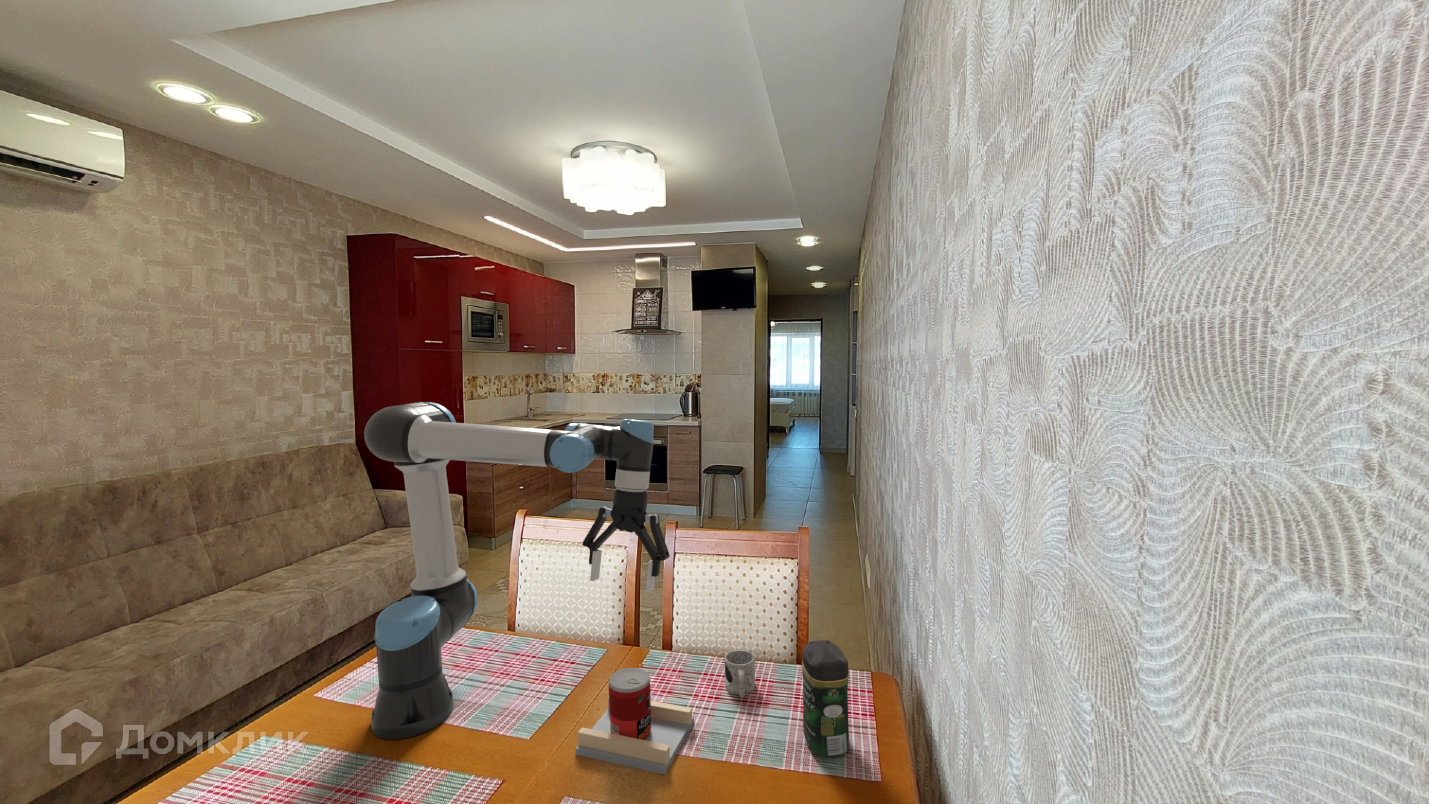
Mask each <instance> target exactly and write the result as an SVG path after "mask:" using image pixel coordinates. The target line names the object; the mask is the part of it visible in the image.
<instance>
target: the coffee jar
mask: <svg viewBox="0 0 1429 804" xmlns="http://www.w3.org/2000/svg"><path fill="white" fill-rule="evenodd" d="M801 658H802V659H801V660H802V661H801V663H802V704H803V705H802V708H803V709H802V718H803V719H802V727H803V729H802V731H803V734H804V738H805V742H806V744H807V746H808V747H809V749H810V750H811V752H812V753H813V754H814V755H816V756H819V757H825V758H838V757H840V756H843V755H844V754H846V753H848V752H849V748H850V730H849V729H850V728H849V699H848V698H849V695H848V694H849V692H848V688H849V678H850V677H849V674H850V671H849V661H848V659H847V657H846V655H845V654H844V652H843V651H842V649H840V647H839V646H838V645H837V644H835V643H834V642H831V641H830V640H829V639H826V640H825V639H822V640H820V639H818V640H811V641H809V642H808V643H806V645H804V647H803V649H802V657H801Z"/></svg>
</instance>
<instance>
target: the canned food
mask: <svg viewBox="0 0 1429 804" xmlns="http://www.w3.org/2000/svg"><path fill="white" fill-rule="evenodd" d="M608 697H609V709H610V731H611V733H612V734H617V735H621V736H626V737H631V738H636V739H641V740H645V739H646V738H647V737H648V736H649V734H650V731H651V701H652V700H651V699H652V698H651V677H650V674H649V672H648V671H647V670H644V669H643V668H640V667H639V668H638V667H626V668H625V667H624V668H622V669H619V670H616V671H614V672H613V673H612V674H610V676H609V678H608Z"/></svg>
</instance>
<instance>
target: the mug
mask: <svg viewBox="0 0 1429 804" xmlns="http://www.w3.org/2000/svg"><path fill="white" fill-rule="evenodd" d="M755 662H756V661H755V655H754V654H753V653H752V652H750V651H747V650H743V649H735V650H731V651H728V652H727V653H726V654H725V655H724V687H725V690H726V691H728V693H730V694H732V695H737V696H739V697H740V698H744V697H745V695H747V694H751V693H752V692H753V691H754V690H755V687H756V677H755V676H756V675H755V674H756V672H755V671H756V670H755V668H756V666H755V665H756V663H755Z"/></svg>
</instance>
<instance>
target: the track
mask: <svg viewBox="0 0 1429 804" xmlns="http://www.w3.org/2000/svg"><path fill="white" fill-rule="evenodd" d="M607 708H608V709H607V710H606V711H605V712H604V713H603V715H602V716H601V717H600V719H598V721H597V722H596V723H595V724H594V726H593V727H592V728H587V727H584V726H583V727H581V728H580V729H579V730H578V732H577V740H578V741H577V743H578V744H577V746H576V747H575V755H576V756H580V757H584V758H589V759H594V760H599V761H602V762H605V763H606V762H607V763H611V764H615V765H619V766H620V765H621V766H624V767H625V766H626V767H629V768H634V769H639V770H643V771H647V772H652V773H656V774H661V775H666V773H667V772H668V770H669V768H670V766H671V765H672V763H673V761H674V759H675V758H676V756H677V754H678V752H679V751H680V749H681V747H682V745H683V743H684V742H685V740H686V738H687V736H688V734H689V733H690V731H691V729H692V727H693V726H692V725H694V724H695V717H694V716H693V708H692V707H690V706H689V707H688V706H683V705H677V704H672V703H666V702H661V701H655V700H651V731H650V734H649V736H648V737H647V738H646V739H645V740H641V739H636V738H631V737H626V736H621V735H617V734H612V733H611V731H610V709H609V696H608V697H607ZM690 728H691V729H690ZM680 746H681V747H680ZM679 748H680V749H679ZM675 755H676V756H675ZM674 757H675V758H674Z"/></svg>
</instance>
